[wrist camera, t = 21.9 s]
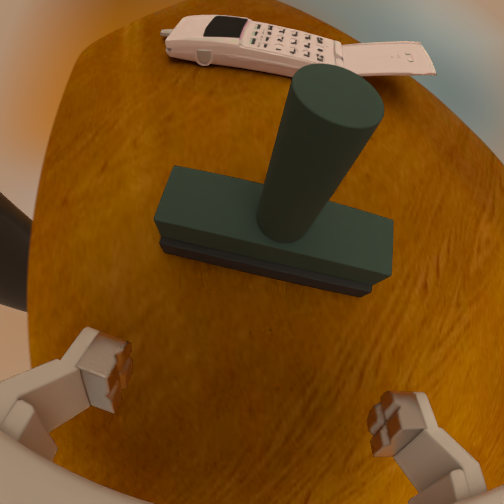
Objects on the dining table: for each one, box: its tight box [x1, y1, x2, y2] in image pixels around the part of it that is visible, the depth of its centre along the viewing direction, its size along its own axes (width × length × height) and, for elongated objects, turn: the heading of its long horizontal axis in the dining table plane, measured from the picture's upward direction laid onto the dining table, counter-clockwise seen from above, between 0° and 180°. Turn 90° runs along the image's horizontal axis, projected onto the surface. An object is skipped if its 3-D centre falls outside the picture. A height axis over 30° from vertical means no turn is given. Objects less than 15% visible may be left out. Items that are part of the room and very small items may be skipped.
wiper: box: [154, 63, 393, 297], centre depth 13 cm, size 12×4×12 cm, turn 78°
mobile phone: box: [161, 15, 436, 77], centre depth 21 cm, size 6×6×25 cm
